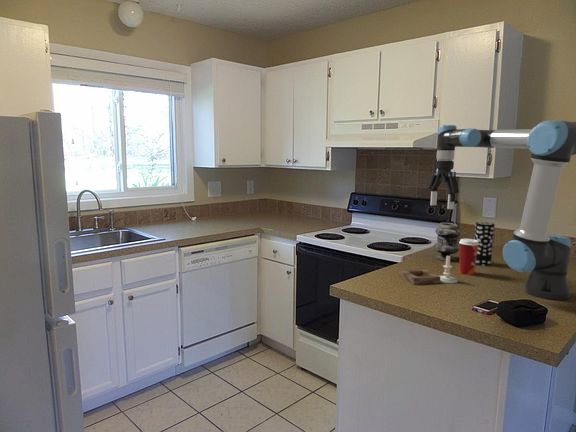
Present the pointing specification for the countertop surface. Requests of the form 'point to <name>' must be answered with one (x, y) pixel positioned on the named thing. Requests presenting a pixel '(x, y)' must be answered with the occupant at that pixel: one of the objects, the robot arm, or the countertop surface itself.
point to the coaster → (449, 281)
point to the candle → (447, 270)
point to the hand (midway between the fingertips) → (441, 207)
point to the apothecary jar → (447, 240)
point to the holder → (419, 276)
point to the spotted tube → (484, 242)
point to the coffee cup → (468, 256)
